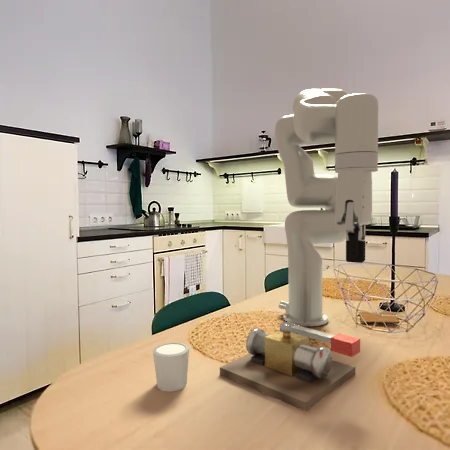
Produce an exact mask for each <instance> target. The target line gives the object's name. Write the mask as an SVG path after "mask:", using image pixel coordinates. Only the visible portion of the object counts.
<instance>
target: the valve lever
mask: <svg viewBox="0 0 450 450" xmlns="http://www.w3.org/2000/svg"><path fill="white" fill-rule="evenodd" d="M279 331H281V332H284V333H295V334H298V335H302V336H306V337H309V339H314V340H316V341H321V342H325V343H328V344H330V351H331V353H332V352H333V353H336V354H339V355H343V356H347V357H350V358H353V357H355V356H356V355H358V354H360V353H361V338H359V337H355V336H351V335H348V334H343V333H338V334H333V333H328V332H325V331H320V330H316V329H312V328H308V327H306V326H298V325H294V324H293V323H290V322H286V321H284V322H283V321H282V322H280V323H279Z"/></svg>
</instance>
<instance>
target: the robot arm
mask: <svg viewBox="0 0 450 450" xmlns="http://www.w3.org/2000/svg"><path fill="white" fill-rule="evenodd" d="M292 109H293V114H289V115H288V114H287V115H284V116H281V117H280V118H278V120H277V121H276V123H275V126H274V139H275V146H276V148H277V151H278V154H279V156H280V158H281V160H282V163H283V167H284V178H285V188H286V189H285V190H286V198H287V201H288V203H289V205H290V206H292V207H294V208H299V209H300V208H303V209H302V210H295V211H292V212H290V213H289V214H287V216H286V218H285V221H284V231H285V237H286V243H287V255H288V257H287V259H288V261H287V262H288V265H287V266H288V271H287V272H288V301H285V300H280V303H279V304H278V309H280V310H285V313H284V314H283V315H282V316H283V317H282V318H284V319H283V321H284V320H285V321H284V322H286V321H287V322H290V323H293V324H295V325H302V327H307V326H310V327H319V326H323V325H326V324H327V323H328V321H329V317H328V315H327V314H325V313H324V312H323V258H322V257H321V254H320V253H319V252H318V250H316V249H315V246H314V245H318V244H320V245H321V244H339V243H342V242H344V241H345V261H346V262H347V263H359V264H362V263H363V262H365V261H366V224H369V223H370V222H371V221H372V217H373V216H372V215H373V177H372V173H375V172H378V169H379V168H378V167H379V166H378V165H379V158H378V157H379V155H378V154H379V153H378V152H379V101H378V98H377V97H376V96H375V95H373V94H371V93H352V94H348V93H347V91H346V90H344V89H340V88H321V89H320V88H311V89H310V88H308V89H305V90H302V91H301V92H299V93H298V94H297V95H296V96H295V97H294V99H293V102H292ZM330 143H331V144H335V145H334V146H335V147H334V149H335V150H334V151H335V153H334V154H335V155H334V157H335V158H334V167H335V168H334V169H335V170H334V173H335V174H336V173H337V176H335V175H332V174H316V173H315V170H314V169H315V168H314V163H313V159H312V158H311V156H310V155H309V154H308V153H307V151H306V150H305V149H303V148H302V147H301V146H300V145H326V144H330ZM306 208H307V209H306ZM312 208H314V209H312ZM315 208H316V209H315ZM317 208H319V209H317ZM320 208H323V209H320Z"/></svg>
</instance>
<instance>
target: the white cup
mask: <svg viewBox="0 0 450 450" xmlns="http://www.w3.org/2000/svg"><path fill="white" fill-rule="evenodd" d="M152 353H153V362H154V363H153V364H154V372H155V377H156V378H155V379H156V386H157V389H159V391H162V392H169V393H170V392H177V391H180V390H183V389H184V388H185V387H186V386H187V384H188V371H189V356H190V347H189V345H187V344H185V343H182V342H167V343H166V342H165V343H162V344H159V345H157V346H155V347H154V348H153V349H152Z"/></svg>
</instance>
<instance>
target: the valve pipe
mask: <svg viewBox="0 0 450 450" xmlns="http://www.w3.org/2000/svg"><path fill="white" fill-rule="evenodd" d="M245 345H246V350H247V351H246V352H248V354H251V355H254V356H252V357H251V362H253V363H256V364H259V365H261V366H263V365H265V367H268V368H271V369H273V370H276V371H279V372H282V373H284V374H287V375H290V376H293V375H295V374H296V378H297V379H300V380H302V381H305V382H308V383H311V382H313V381H315V380H316V379H318V378H320V379H324V378H325V377H326V376H327V375H328V373H329V371H330V368H331V364H332V360H333V355H332V351H331V348H329V347H326V346H319V347H313V346H310V338H309V337H306V336H302V335H298V334H295V333H284V332H281V331H280V330H278V331H276V332H273V333H271V334H268V333H266V331H265V330H264V329H262V328H258V327H256V328H253V329H251V331H250V332H249V334H248V335H247V337H246V343H245Z"/></svg>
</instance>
